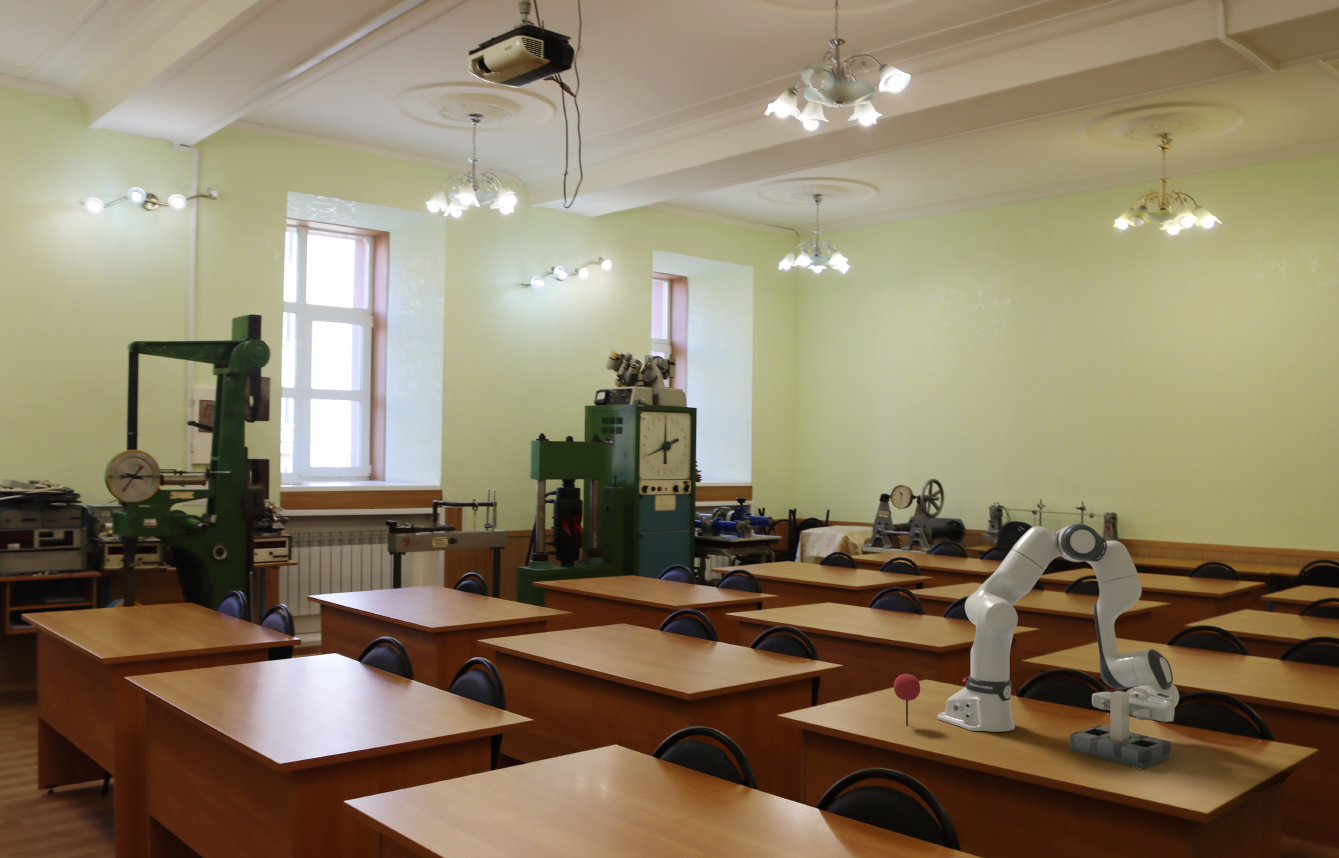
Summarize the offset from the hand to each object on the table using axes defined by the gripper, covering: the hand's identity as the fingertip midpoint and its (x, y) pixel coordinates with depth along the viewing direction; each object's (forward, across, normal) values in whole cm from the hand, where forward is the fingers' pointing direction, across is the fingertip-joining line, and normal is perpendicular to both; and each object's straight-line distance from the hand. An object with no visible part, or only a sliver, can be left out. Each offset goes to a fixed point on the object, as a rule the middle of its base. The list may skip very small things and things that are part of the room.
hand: (1118, 710), depth 256 cm
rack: (-1, 0, +12) cm, 12 cm away
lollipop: (+23, -52, +12) cm, 58 cm away
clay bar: (-1, 0, +10) cm, 11 cm away
